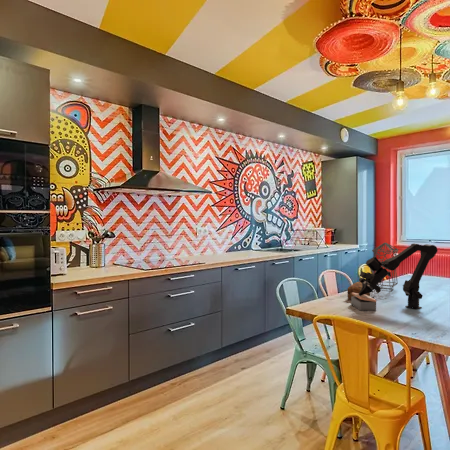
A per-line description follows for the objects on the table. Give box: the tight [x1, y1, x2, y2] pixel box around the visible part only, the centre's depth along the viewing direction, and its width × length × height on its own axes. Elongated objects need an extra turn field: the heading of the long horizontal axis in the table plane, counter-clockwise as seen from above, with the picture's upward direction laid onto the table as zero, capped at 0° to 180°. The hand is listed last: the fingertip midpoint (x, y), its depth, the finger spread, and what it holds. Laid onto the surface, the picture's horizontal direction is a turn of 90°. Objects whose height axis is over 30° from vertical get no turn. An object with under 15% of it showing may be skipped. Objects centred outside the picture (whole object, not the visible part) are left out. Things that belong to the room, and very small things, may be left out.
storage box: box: [350, 297, 377, 312], centre depth 205 cm, size 9×14×5 cm, turn 1°
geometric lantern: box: [371, 242, 399, 292], centre depth 256 cm, size 16×16×35 cm
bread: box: [346, 281, 371, 301], centre depth 229 cm, size 19×11×10 cm, turn 143°
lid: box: [352, 293, 377, 303], centre depth 205 cm, size 9×14×1 cm, turn 1°
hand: (359, 295), depth 205 cm, fingers closed, pressing on lid
